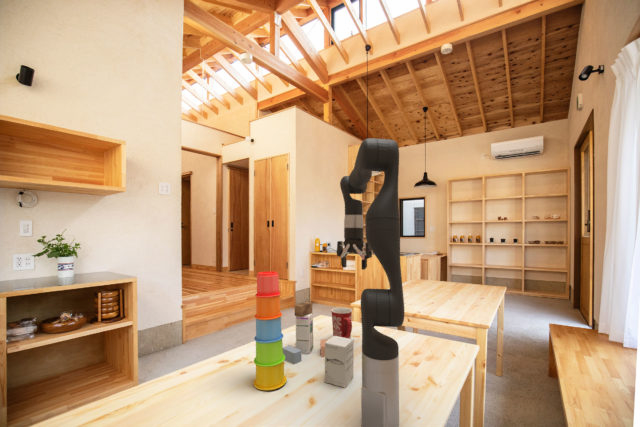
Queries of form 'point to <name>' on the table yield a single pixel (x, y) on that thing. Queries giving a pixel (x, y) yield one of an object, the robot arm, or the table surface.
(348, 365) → the supplement box
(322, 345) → the terracotta brick
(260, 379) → the stacking cups
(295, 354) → the slate-blue brick
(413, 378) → the table surface
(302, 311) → the walnut brick
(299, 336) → the syrup box
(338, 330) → the mug
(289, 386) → the table surface
